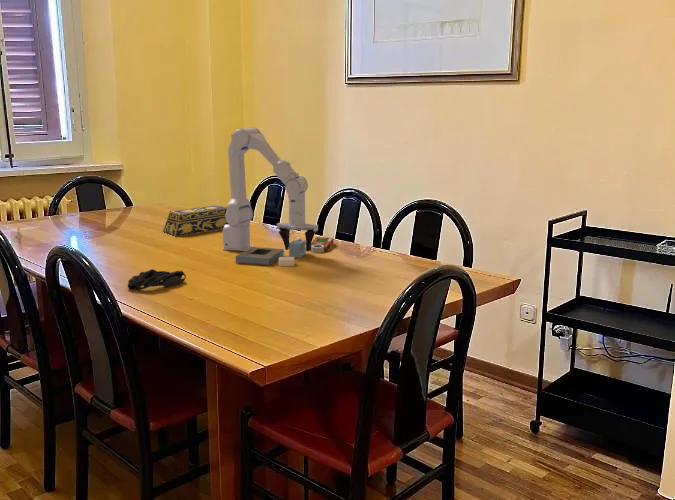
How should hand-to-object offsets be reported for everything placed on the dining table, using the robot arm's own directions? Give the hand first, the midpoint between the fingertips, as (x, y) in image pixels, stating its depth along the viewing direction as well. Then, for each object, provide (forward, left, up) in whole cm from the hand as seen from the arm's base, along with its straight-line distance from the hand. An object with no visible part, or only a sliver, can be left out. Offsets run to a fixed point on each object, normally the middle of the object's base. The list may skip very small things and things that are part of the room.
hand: (297, 250), depth 233 cm
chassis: (-11, -9, -2) cm, 14 cm away
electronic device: (+5, +13, -3) cm, 14 cm away
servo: (0, 0, -2) cm, 2 cm away
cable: (-31, -45, -3) cm, 54 cm away
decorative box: (-53, +31, -3) cm, 62 cm away
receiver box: (0, -13, -2) cm, 13 cm away
